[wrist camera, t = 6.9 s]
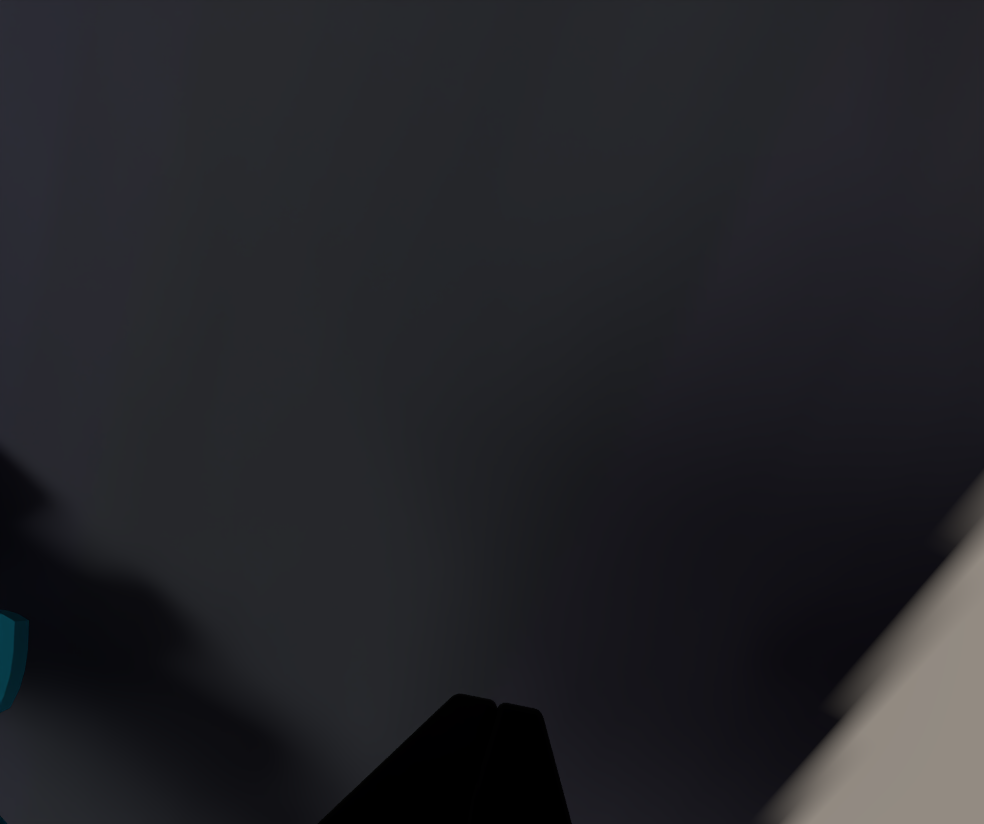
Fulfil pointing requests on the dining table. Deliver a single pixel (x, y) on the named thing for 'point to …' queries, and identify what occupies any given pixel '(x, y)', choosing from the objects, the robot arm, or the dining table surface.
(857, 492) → the dining table surface
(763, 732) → the dining table surface
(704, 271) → the dining table surface
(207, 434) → the dining table surface
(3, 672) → the gear
